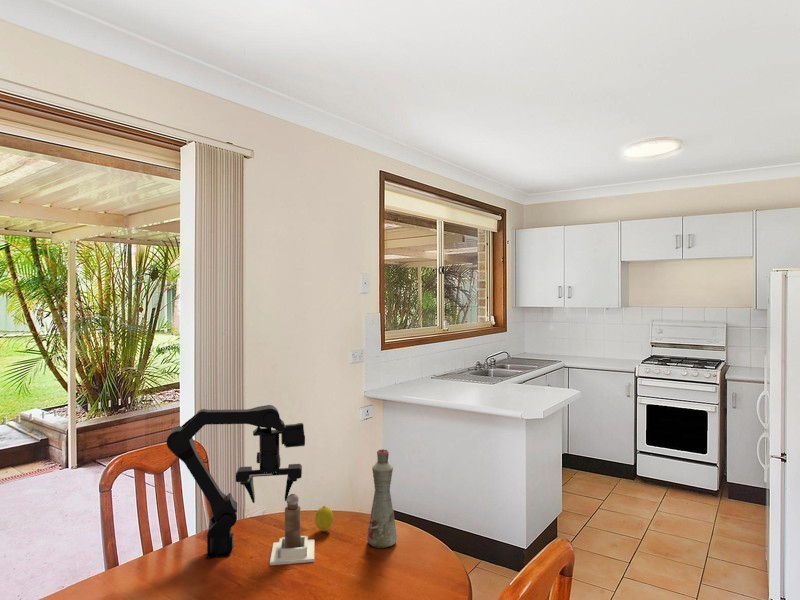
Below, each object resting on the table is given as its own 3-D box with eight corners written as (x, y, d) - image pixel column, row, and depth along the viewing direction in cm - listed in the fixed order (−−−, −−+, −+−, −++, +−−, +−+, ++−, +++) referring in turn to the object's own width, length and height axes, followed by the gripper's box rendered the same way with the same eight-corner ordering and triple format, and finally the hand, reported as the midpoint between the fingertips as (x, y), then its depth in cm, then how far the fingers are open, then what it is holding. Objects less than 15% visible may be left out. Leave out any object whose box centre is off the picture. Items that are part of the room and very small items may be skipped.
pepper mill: (286, 554, 146) (285, 497, 147) (283, 548, 151) (283, 492, 151) (301, 552, 148) (301, 495, 148) (299, 545, 152) (299, 490, 152)
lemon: (331, 535, 161) (331, 509, 161) (313, 535, 161) (313, 509, 161) (334, 527, 166) (334, 502, 166) (317, 527, 166) (316, 502, 166)
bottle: (387, 552, 149) (386, 455, 149) (361, 545, 154) (360, 450, 154) (402, 540, 157) (402, 447, 157) (377, 534, 161) (377, 443, 162)
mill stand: (269, 565, 142) (269, 554, 142) (273, 545, 154) (273, 535, 154) (314, 561, 144) (314, 550, 144) (314, 542, 156) (314, 532, 156)
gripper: (302, 440, 164) (302, 490, 164) (240, 443, 161) (241, 493, 161) (301, 450, 153) (301, 503, 153) (235, 453, 150) (235, 507, 150)
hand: (269, 501), depth 154 cm, fingers open, 9 cm apart
